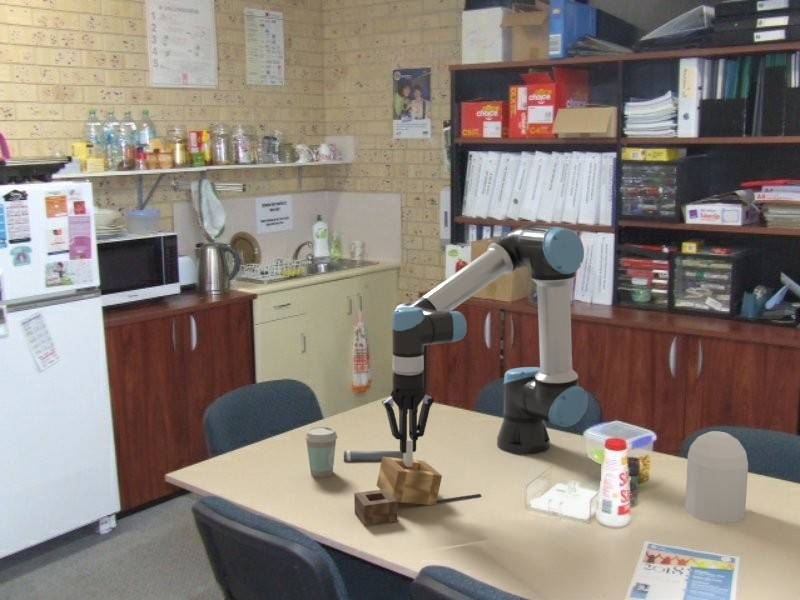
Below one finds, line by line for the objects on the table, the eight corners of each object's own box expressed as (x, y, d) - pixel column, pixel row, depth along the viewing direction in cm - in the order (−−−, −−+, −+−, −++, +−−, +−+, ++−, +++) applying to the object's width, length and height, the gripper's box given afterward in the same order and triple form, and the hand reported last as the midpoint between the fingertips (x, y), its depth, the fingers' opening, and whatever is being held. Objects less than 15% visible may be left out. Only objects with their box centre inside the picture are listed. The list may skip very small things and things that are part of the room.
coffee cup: (332, 480, 226) (332, 436, 224) (301, 478, 228) (300, 434, 226) (341, 469, 234) (340, 426, 232) (311, 467, 236) (310, 425, 234)
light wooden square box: (418, 489, 221) (424, 461, 220) (435, 505, 210) (442, 475, 210) (376, 485, 217) (382, 456, 216) (392, 501, 206) (398, 471, 205)
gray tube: (408, 459, 238) (343, 459, 239) (408, 462, 241) (344, 462, 241) (408, 449, 240) (343, 449, 240) (408, 452, 242) (344, 452, 243)
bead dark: (386, 508, 208) (386, 488, 207) (397, 521, 200) (397, 501, 200) (354, 513, 205) (354, 493, 204) (364, 526, 198) (364, 505, 197)
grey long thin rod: (480, 496, 215) (480, 493, 215) (481, 497, 214) (481, 494, 214) (417, 505, 210) (417, 502, 210) (418, 506, 209) (418, 503, 209)
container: (716, 530, 195) (720, 445, 192) (672, 509, 207) (676, 428, 204) (757, 518, 201) (763, 436, 198) (712, 498, 213) (717, 420, 210)
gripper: (427, 365, 214) (427, 456, 218) (377, 370, 210) (378, 462, 214) (438, 372, 207) (438, 466, 211) (387, 377, 203) (387, 473, 207)
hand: (408, 464), depth 212 cm, fingers closed
